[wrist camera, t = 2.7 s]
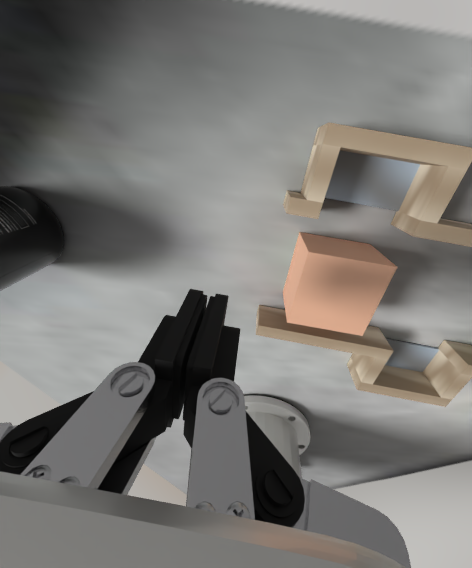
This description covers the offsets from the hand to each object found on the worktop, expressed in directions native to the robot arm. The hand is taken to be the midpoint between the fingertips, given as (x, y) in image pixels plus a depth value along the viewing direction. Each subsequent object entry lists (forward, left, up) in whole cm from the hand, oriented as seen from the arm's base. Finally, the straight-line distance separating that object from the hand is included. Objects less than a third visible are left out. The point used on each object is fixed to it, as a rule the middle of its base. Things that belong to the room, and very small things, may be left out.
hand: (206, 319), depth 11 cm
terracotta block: (-4, -7, -11) cm, 13 cm away
